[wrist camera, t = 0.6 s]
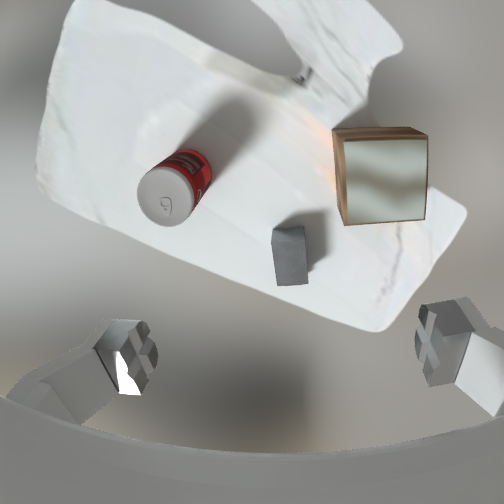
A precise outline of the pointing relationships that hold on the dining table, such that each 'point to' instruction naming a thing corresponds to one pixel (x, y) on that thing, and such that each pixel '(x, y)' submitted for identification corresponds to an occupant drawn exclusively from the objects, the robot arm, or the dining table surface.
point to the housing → (290, 256)
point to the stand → (380, 174)
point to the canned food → (174, 188)
